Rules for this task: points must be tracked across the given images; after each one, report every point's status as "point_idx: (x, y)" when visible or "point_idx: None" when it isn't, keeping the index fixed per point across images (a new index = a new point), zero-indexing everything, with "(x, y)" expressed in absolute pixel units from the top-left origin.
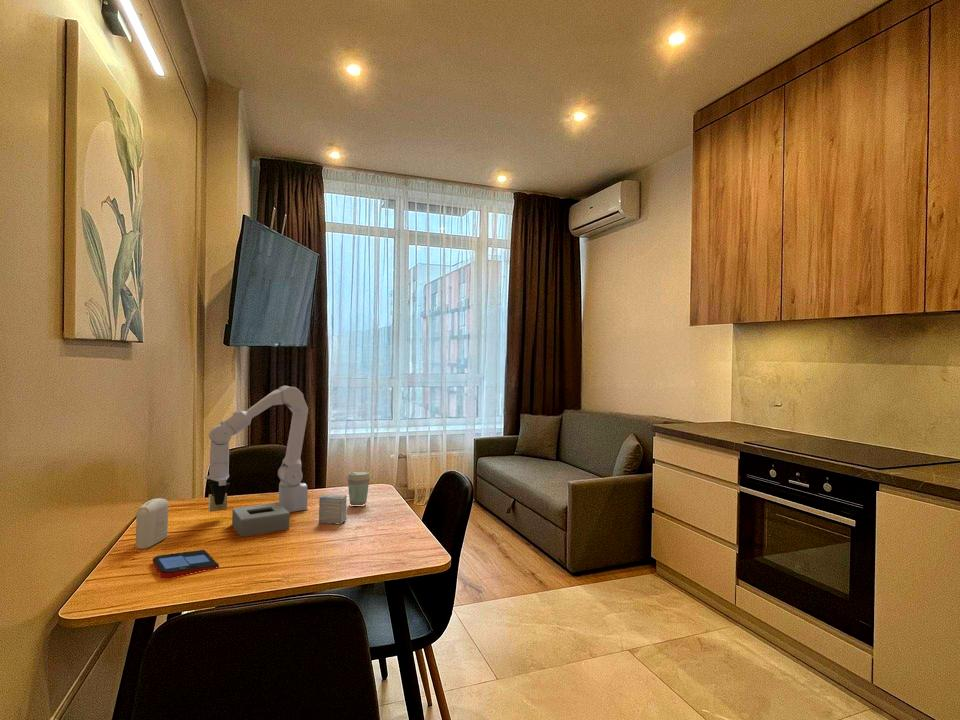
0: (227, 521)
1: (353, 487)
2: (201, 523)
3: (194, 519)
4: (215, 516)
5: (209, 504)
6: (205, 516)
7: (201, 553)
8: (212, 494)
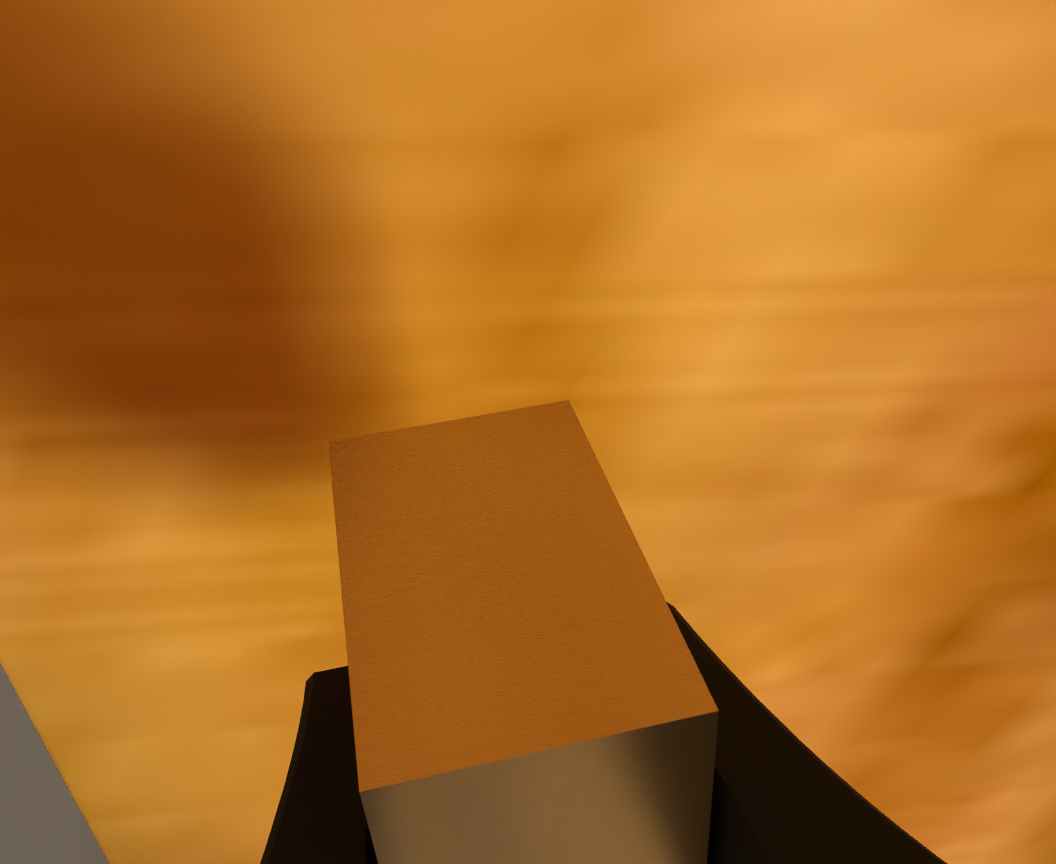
0: (250, 582)
1: None
2: (280, 161)
3: (690, 10)
4: (683, 394)
5: (454, 530)
6: (789, 230)
7: None
8: (641, 798)
